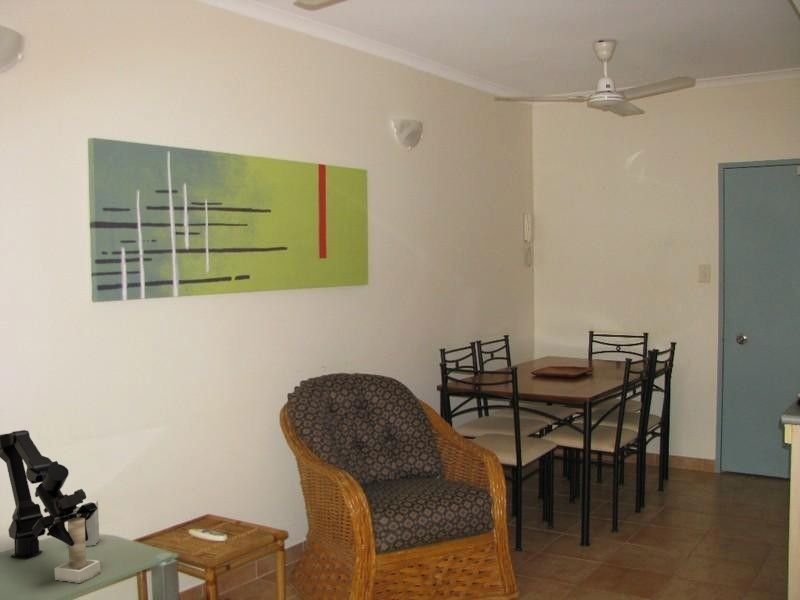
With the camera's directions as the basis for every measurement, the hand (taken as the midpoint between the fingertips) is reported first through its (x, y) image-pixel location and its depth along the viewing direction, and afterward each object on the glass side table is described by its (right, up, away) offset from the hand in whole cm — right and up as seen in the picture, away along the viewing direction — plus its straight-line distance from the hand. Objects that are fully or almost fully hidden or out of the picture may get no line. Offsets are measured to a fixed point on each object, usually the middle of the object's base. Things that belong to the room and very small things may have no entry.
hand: (80, 542), depth 232 cm
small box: (-10, -9, +30) cm, 33 cm away
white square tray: (-1, -10, +1) cm, 10 cm away
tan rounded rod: (-1, -7, +1) cm, 7 cm away
